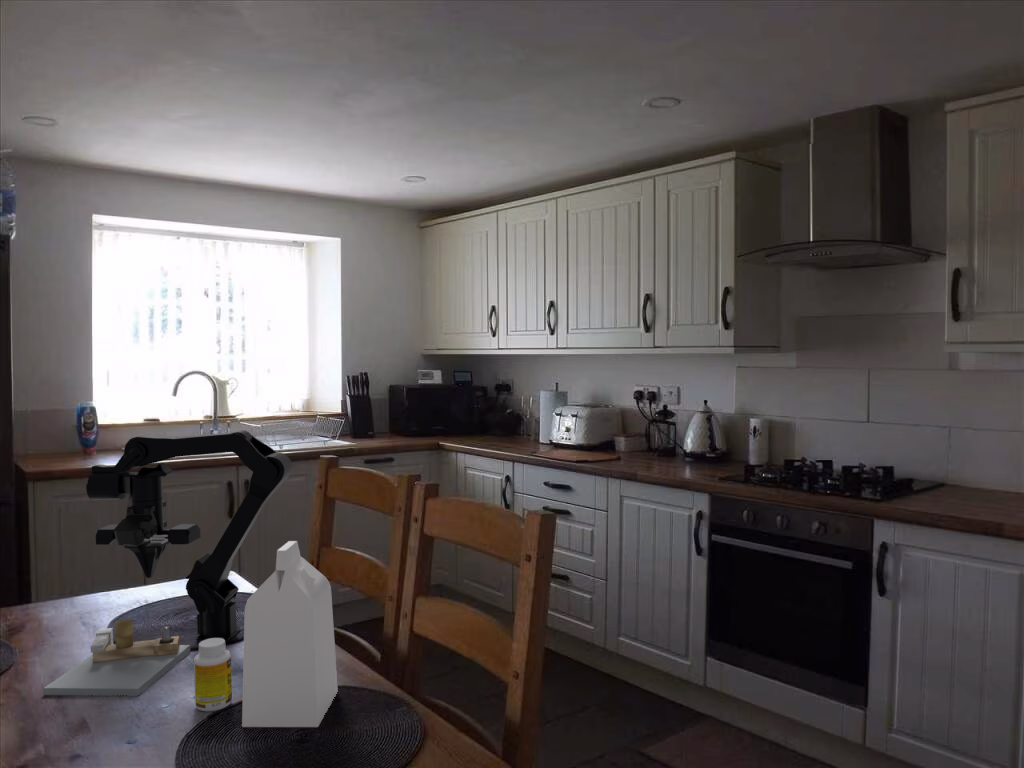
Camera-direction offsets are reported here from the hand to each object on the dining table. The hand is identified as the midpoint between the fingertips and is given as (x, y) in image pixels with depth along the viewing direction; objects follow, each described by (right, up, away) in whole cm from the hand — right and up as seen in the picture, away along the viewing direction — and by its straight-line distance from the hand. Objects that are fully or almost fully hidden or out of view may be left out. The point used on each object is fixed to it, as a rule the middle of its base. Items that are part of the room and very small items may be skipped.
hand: (149, 577), depth 157 cm
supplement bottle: (+24, -13, -30) cm, 40 cm away
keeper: (-3, -11, -12) cm, 17 cm away
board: (+2, -13, -16) cm, 21 cm away
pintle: (+8, -11, -10) cm, 17 cm away
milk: (+37, -13, -31) cm, 50 cm away
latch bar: (+3, -11, -11) cm, 16 cm away
